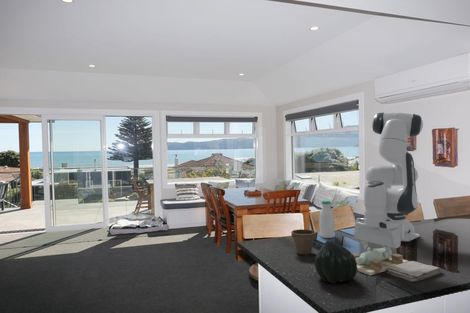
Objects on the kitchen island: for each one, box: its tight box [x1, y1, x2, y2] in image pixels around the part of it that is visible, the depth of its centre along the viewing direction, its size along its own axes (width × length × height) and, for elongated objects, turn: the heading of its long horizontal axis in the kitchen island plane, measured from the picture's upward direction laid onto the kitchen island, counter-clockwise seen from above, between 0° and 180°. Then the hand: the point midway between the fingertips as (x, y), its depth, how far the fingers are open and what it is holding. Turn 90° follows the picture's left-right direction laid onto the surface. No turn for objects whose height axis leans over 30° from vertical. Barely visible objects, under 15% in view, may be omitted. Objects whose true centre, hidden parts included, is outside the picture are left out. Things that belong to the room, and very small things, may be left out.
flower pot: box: [290, 228, 317, 256], centre depth 163 cm, size 12×11×10 cm
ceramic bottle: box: [356, 246, 393, 265], centre depth 142 cm, size 18×5×5 cm, turn 120°
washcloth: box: [386, 260, 442, 282], centre depth 133 cm, size 12×18×3 cm, turn 121°
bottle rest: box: [352, 247, 409, 276], centre depth 143 cm, size 24×13×4 cm, turn 120°
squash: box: [314, 240, 358, 284], centre depth 129 cm, size 14×15×15 cm
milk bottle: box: [319, 199, 335, 239], centre depth 191 cm, size 8×8×20 cm
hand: (376, 253), depth 143 cm, fingers open, 7 cm apart
